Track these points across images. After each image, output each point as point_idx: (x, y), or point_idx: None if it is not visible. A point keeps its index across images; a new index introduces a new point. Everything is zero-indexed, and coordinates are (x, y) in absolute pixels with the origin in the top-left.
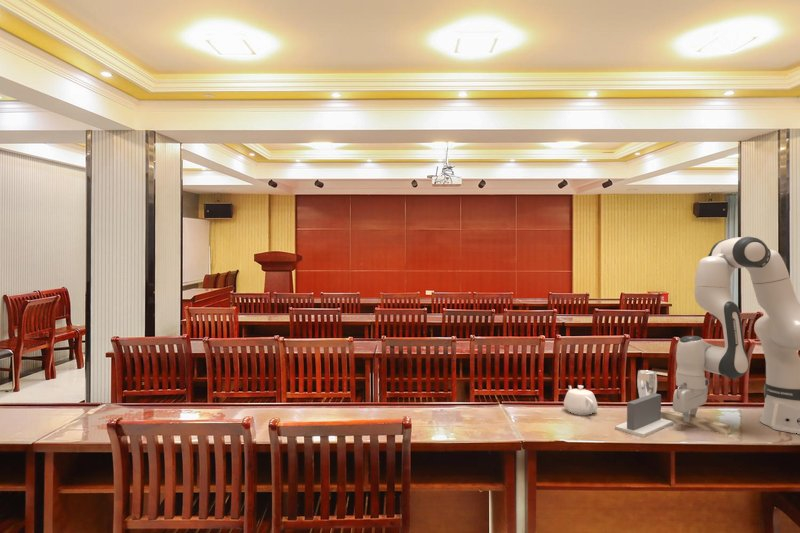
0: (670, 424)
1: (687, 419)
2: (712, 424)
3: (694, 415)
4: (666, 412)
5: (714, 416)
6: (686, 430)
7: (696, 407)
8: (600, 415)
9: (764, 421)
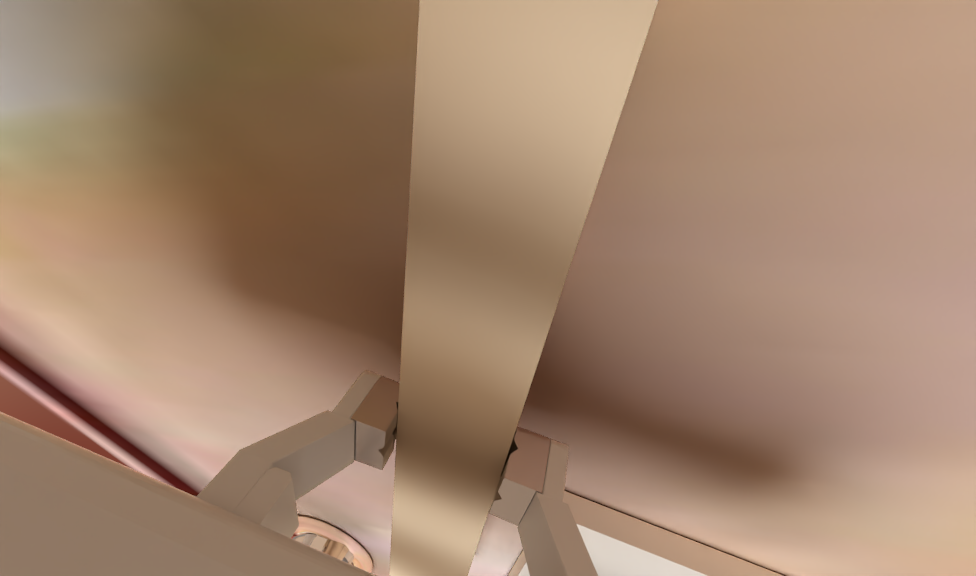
0: (613, 516)
1: (561, 479)
2: (592, 186)
3: (378, 422)
4: (438, 572)
5: (2, 170)
6: (738, 424)
7: (252, 504)
8: None
9: None
